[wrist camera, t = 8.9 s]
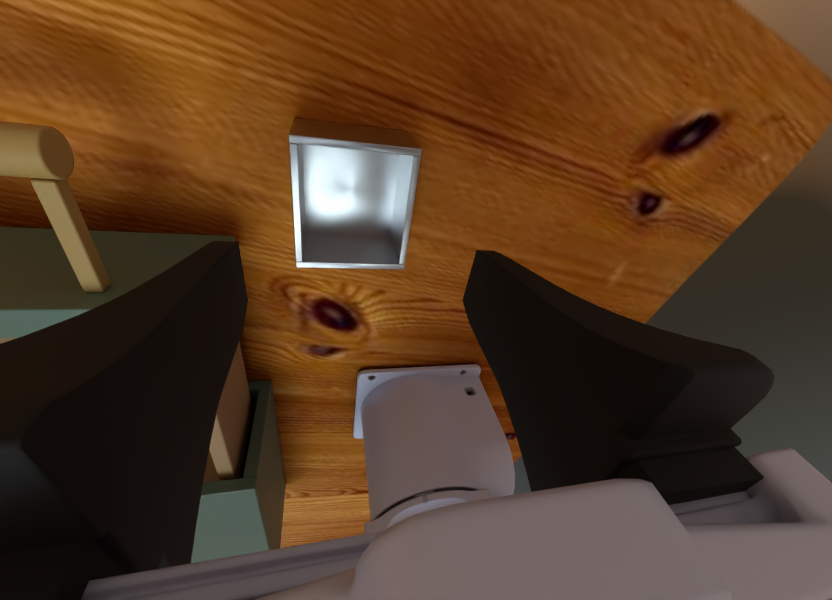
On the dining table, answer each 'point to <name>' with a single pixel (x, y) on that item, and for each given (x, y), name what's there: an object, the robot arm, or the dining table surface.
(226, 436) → the drawer
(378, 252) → the open metal box
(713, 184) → the dining table surface
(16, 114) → the dining table surface
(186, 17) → the dining table surface
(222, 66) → the dining table surface
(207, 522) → the cabinet
